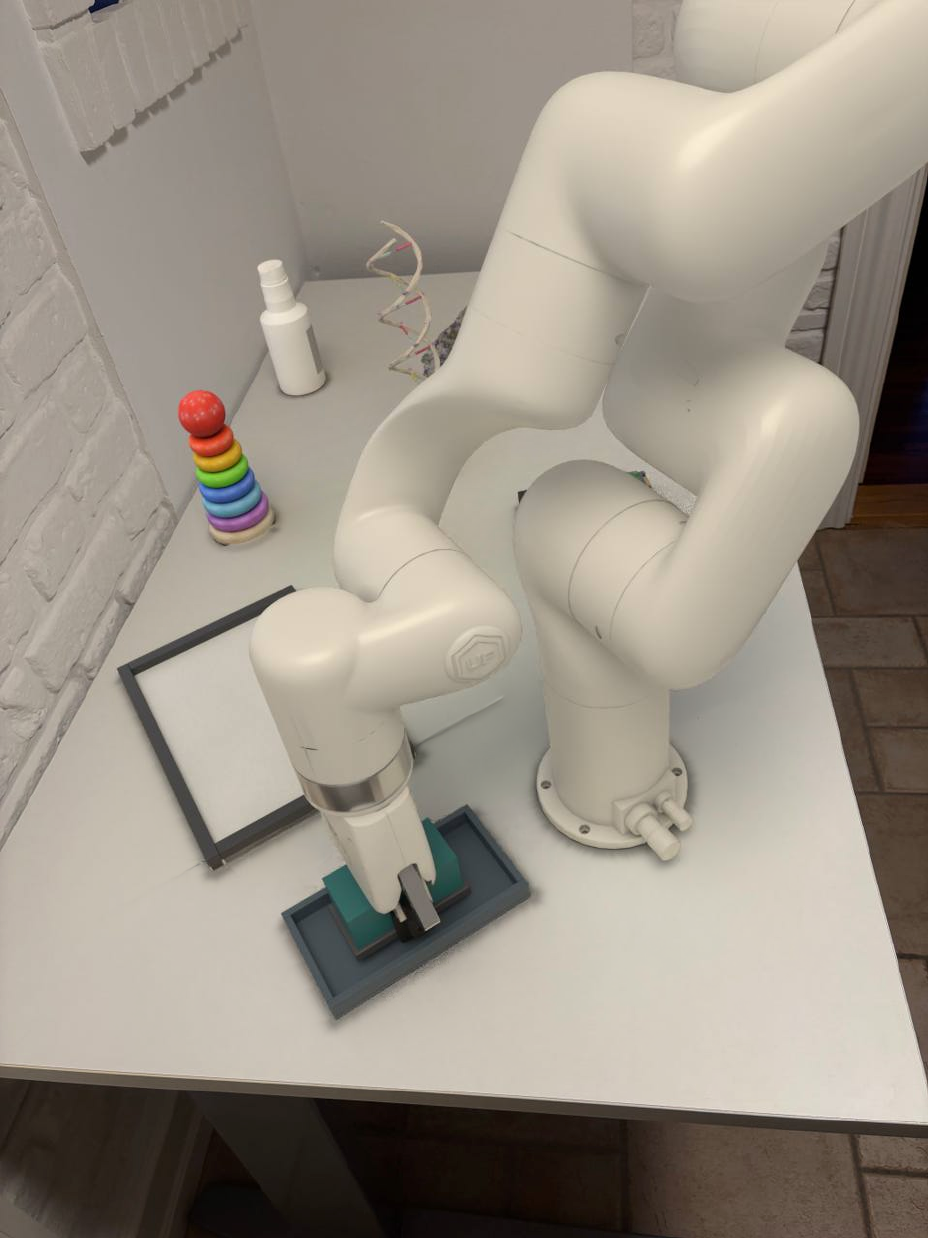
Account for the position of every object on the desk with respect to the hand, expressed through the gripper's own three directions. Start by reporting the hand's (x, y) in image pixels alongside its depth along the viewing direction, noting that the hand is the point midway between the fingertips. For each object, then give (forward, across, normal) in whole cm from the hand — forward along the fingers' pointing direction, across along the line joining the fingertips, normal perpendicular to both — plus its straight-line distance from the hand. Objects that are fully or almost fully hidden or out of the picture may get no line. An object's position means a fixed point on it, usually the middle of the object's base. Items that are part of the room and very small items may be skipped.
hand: (400, 901), depth 74 cm
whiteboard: (+2, -27, -2) cm, 27 cm away
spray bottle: (+2, -84, +28) cm, 89 cm away
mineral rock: (+2, -69, +48) cm, 84 cm away
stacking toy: (+2, -57, +8) cm, 58 cm away
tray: (+2, 0, 0) cm, 2 cm away
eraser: (0, 0, 0) cm, 0 cm away
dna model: (+2, -52, +32) cm, 61 cm away
